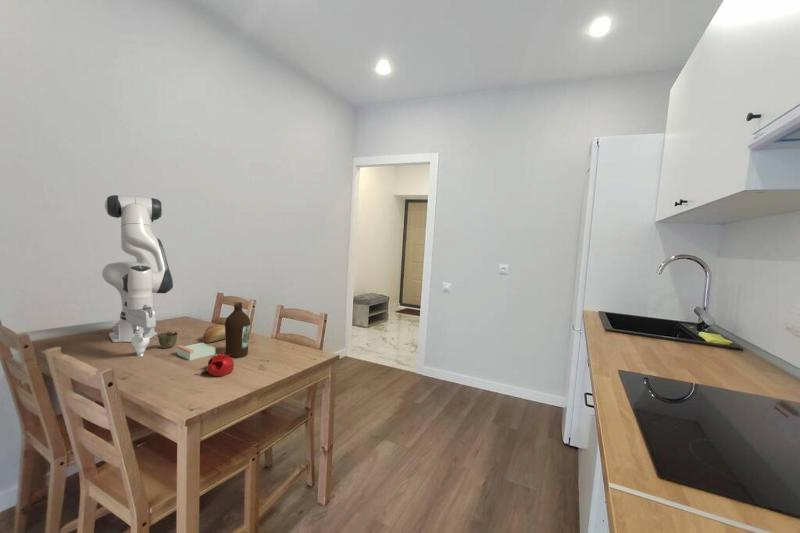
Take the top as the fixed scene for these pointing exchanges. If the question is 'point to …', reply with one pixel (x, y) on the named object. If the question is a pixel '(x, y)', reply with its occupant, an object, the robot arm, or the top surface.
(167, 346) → the cup
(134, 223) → the robot arm
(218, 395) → the top surface
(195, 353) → the mint green flat box
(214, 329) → the bread roll
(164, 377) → the top surface
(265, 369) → the top surface
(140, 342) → the lightbulb
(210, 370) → the pomegranate
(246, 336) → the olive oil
